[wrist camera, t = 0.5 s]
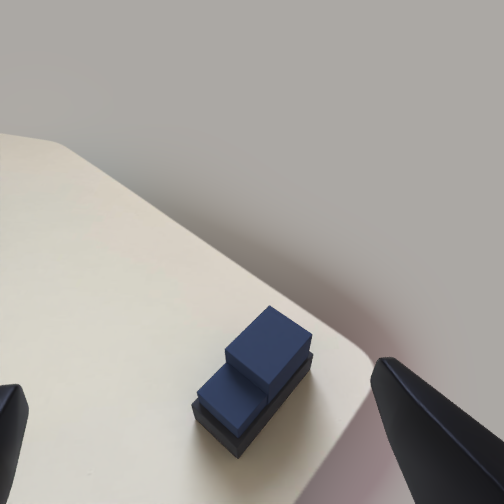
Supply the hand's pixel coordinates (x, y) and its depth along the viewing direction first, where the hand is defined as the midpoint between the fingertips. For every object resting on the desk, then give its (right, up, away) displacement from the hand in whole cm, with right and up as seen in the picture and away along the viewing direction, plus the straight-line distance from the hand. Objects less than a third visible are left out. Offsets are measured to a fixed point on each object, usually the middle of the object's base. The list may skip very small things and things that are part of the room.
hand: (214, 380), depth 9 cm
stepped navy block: (+1, -8, +20) cm, 21 cm away
